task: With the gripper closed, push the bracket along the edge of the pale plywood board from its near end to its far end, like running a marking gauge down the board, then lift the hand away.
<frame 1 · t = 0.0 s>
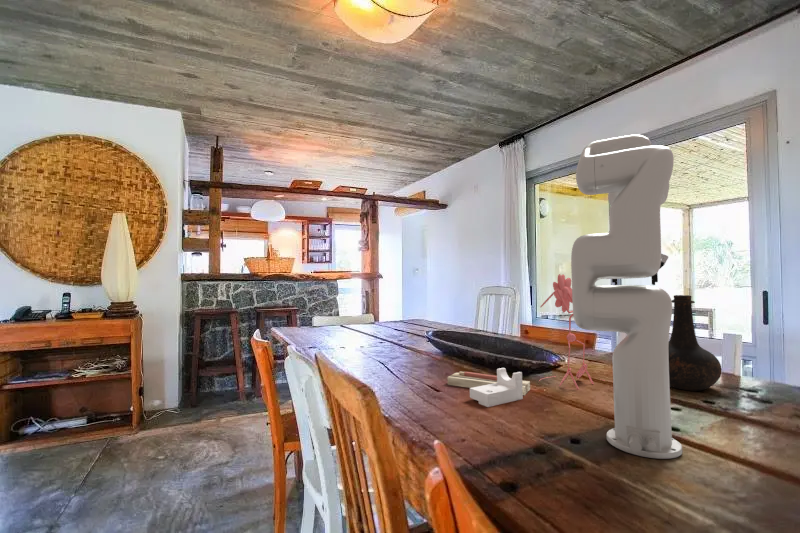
hand: (634, 284, 115), 31 cm above the table, tool pointing down, fingers open, 9 cm apart
glass bottle: (684, 387, 116), on the table
bracket: (496, 401, 106), on the table
figurine: (565, 383, 122), on the table
pencil: (482, 377, 120), point 2 cm above the table, touching board
board: (487, 386, 118), on the table
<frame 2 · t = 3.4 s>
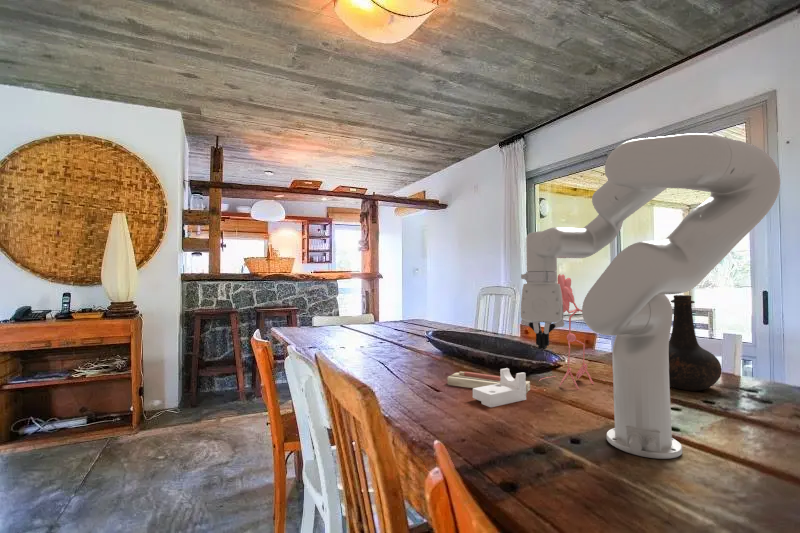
hand: (542, 348, 100), 15 cm above the table, tool pointing down, fingers closed
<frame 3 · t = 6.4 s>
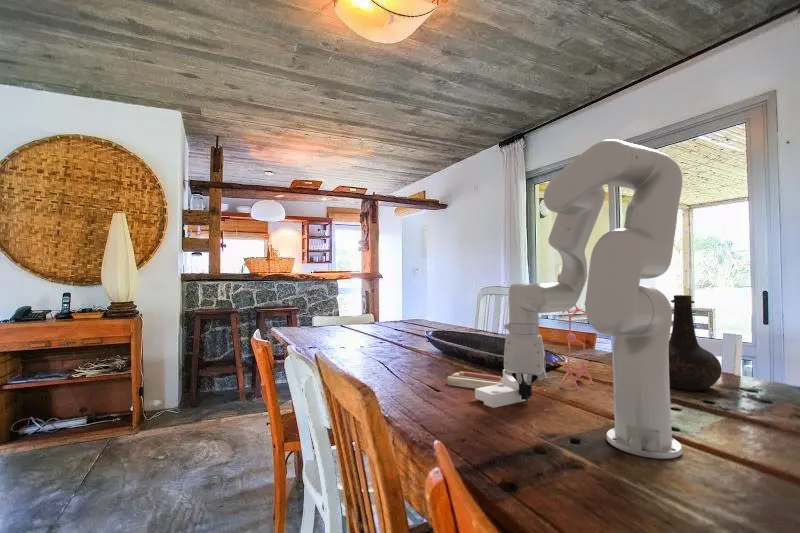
hand: (525, 398, 102), 1 cm above the table, tool pointing down, fingers closed
bracket: (502, 402, 105), on the table, touching gripper
everything else where it was.
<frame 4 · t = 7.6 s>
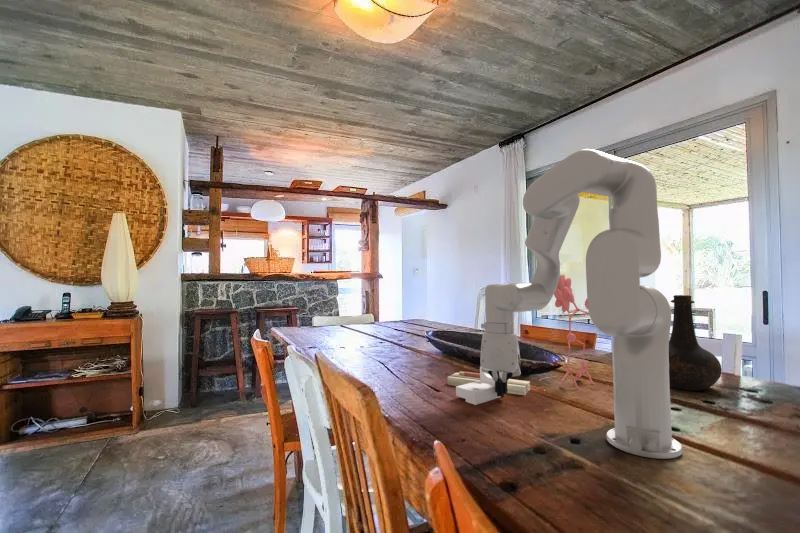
hand: (501, 395, 105), 1 cm above the table, tool pointing down, fingers closed
bracket: (481, 398, 108), on the table
everything else where it was.
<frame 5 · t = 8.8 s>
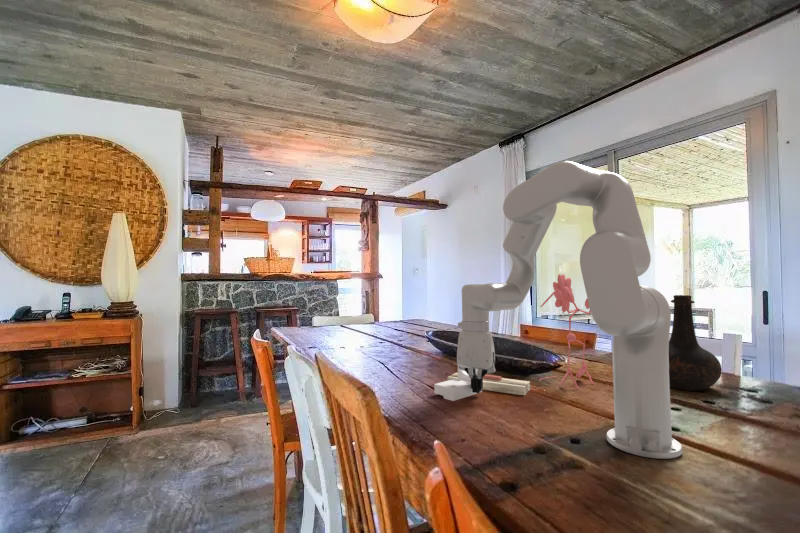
hand: (476, 391, 108), 1 cm above the table, tool pointing down, fingers closed
bracket: (458, 395, 112), on the table, touching board, gripper
everything else where it was.
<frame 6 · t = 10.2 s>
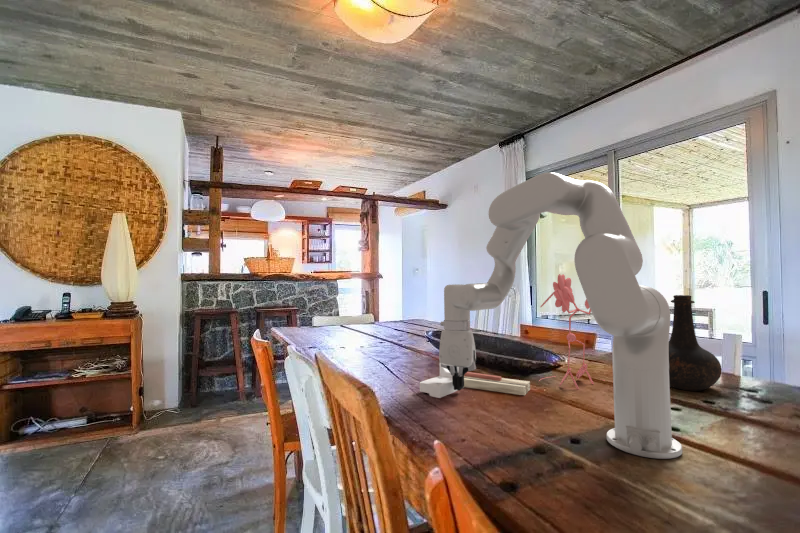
hand: (458, 388, 111), 1 cm above the table, tool pointing down, fingers closed
bracket: (442, 392, 115), on the table
everything else where it was.
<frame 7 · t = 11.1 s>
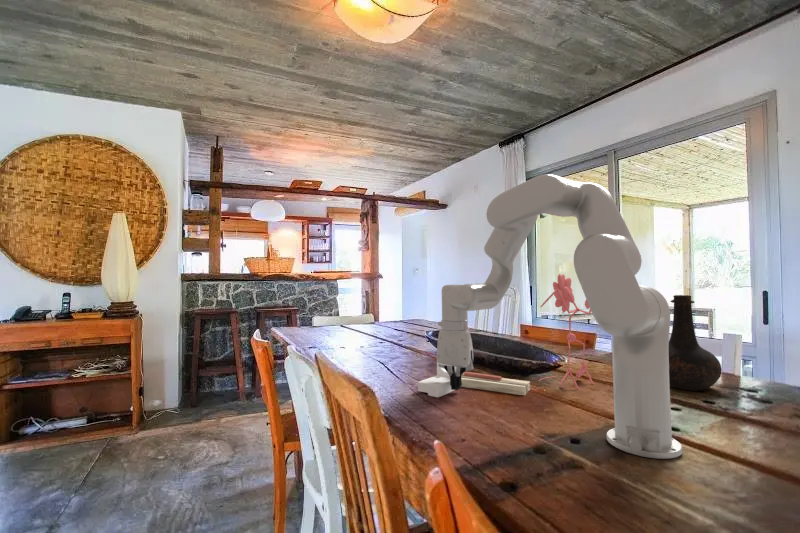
hand: (455, 388, 112), 1 cm above the table, tool pointing down, fingers closed
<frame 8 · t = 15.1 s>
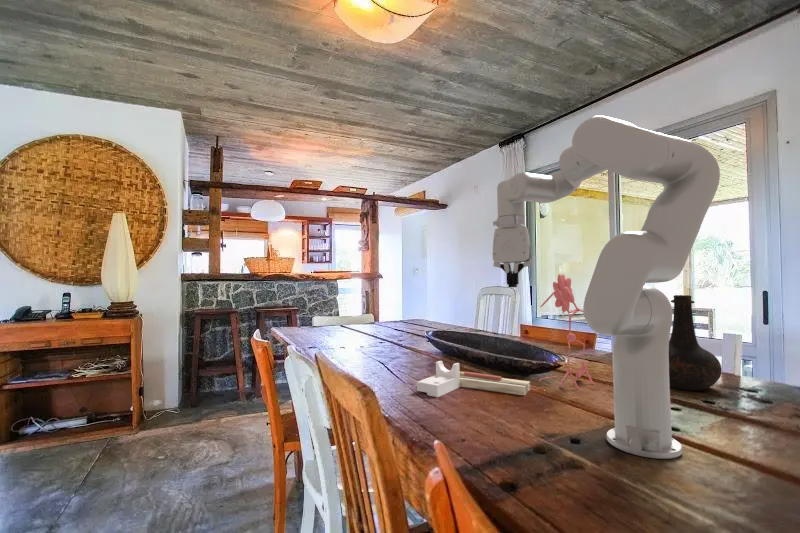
hand: (512, 287, 109), 31 cm above the table, tool pointing down, fingers closed
at the end: bracket inside the target area (1.6 cm from its centre), on the table; bracket moved 17.9 cm from its start; the gripper is holding nothing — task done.
